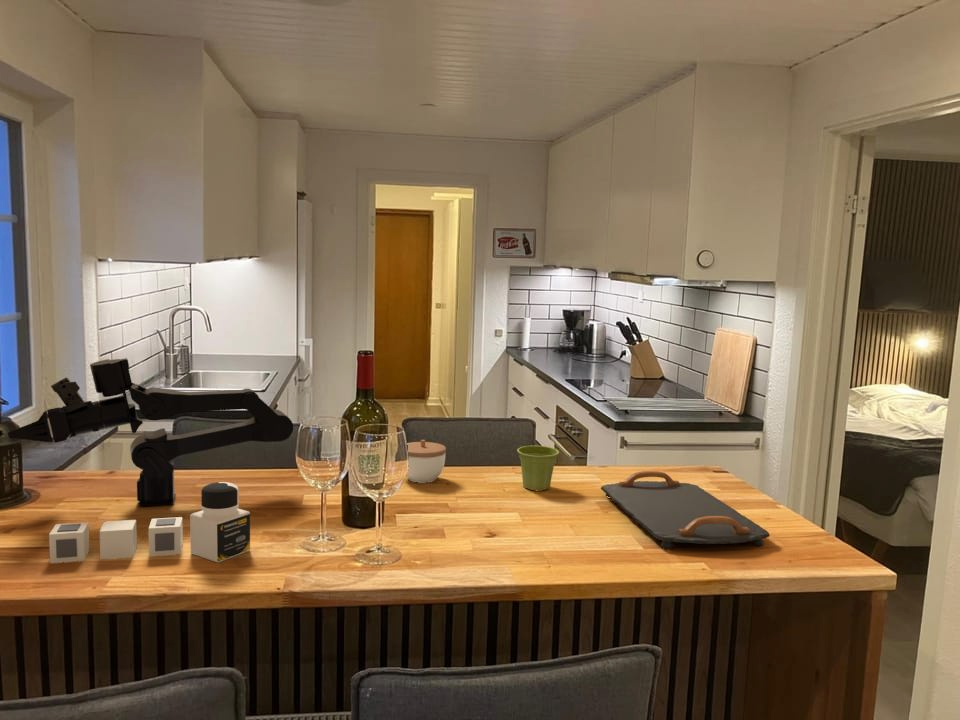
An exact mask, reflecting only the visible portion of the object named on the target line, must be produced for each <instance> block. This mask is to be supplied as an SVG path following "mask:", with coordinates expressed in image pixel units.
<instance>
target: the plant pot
mask: <svg viewBox="0 0 960 720" xmlns="http://www.w3.org/2000/svg"><path fill="white" fill-rule="evenodd" d="M516 451H517V453H518V457H519V459H520V466H521V467H520V468H521V475H522V476H521V479H522V487H523V488H524V489H528V490H529V489H530V491H532V490H543V491H544V490H549V489H550V488H551V482H552V477H553V473H554V472H553V471H554V468H555V463H556V460H557V456H559V454H560V451H559V450H558V449H556V448H554V447H550V446H545V445H525V446H520V447H519V448H517V450H516Z"/></svg>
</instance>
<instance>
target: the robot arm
mask: <svg viewBox="0 0 960 720" xmlns="http://www.w3.org/2000/svg"><path fill="white" fill-rule="evenodd" d="M89 366H90V371H91V374H92V375H91V376H92V380H93V384H94V388H95V392H96V393H98V394H102V396H103V398H105V399H100V400H95V401H92V400H88V401H85V400H84V399H83V397H82V396H81V394H80V393H79V391H80V389H81V387H80V386H79V385H78V383H77V382H76V381H71V380H70V379H69V377H64V378H62V379H60V380H58V381H57V382H54V384H52V385H50V388H51V389H52V390H53V392H55V393H56V394H57V396H58V397H59V398H60V400H61V401H62V402H63V404H64V405H63V406H62V407H54V408H50V409H46V410H44V411H43V412H42V414H41V415H40V417H39V418H38V420H35V421H33V422H31V423H28V424H27V425H24V426H21V427H19V428H16V429H13V430H11V431H9V432H7V436H8V439H15V440H21V441H22V440H24V441H32V442H44V443H52V444H53V443H56V444H57V443H61V442H63V441H68V439H70V438H74V437H76V436H81V435H85V434H89V433H96V432H99V431H102V430H107V429H111V428H112V429H113V428H115V427H120V426H125V425H130V429H131V433H132V434H135V433H136V432H137V431H138V429H139V428H140V426H142V425H143V424H144V422H143V419H141V418H140V417H138V414H137V410H136V409H137V408H136V405H135V404H137V405H138V409H139V412H140V414H141V416H143V417H144V418H145V419H147V420H149V421H160V420H164V419H168V418H173V417H177V416H180V415H182V414H187V413H197V412H213V411H214V412H217V411H232V410H233V411H236V410H237V411H238V410H246V411H247V412H248V413H249V414H251V415H252V416H253V417H251V418H249V419H247V420H246V421H242V422H236V423H232V424H225V425H223V426H222V425H221V426H216V427H212V428H206V429H201V430H198V431H191V432H187V433H181V434H167V431H166V429H165V428H164V427H163V428H159V429H157V430H154V431H145V430H144V431H143V434H142V435H139V436H136V437H135V438H134V439H133V440H132V441H131V442H130V443H131V444H130V448H129V451H130V452H129V453H130V458H131V461H132V464H133V465H134V466H135V467H136V468H139V469H140V470H141V471H140V474H139V478H138V479H137V481H136V501H137V502H138V506H139V507H155V506H171V505H174V504H175V500H176V496H177V494H176V492H175V466H174V463H173V460H175V459H177V458H179V457H182V456H185V455H189V454H190V455H191V454H194V453H200V452H205V451H209V450H214V449H219V448H224V447H228V446H233V445H238V444H242V443H248V442H257V443H258V442H259V443H260V442H261V443H278V442H279V443H280V442H284V441H286V440H288V439H289V438H290V437H291V436H292V434H293V431H294V424H293V420H291V418H290V417H289V416H288V415H286V413H284V412H283V411H281V410H280V409H272V408H271V407H270V406H269V405H268V404H267V403H266V402H265V401H264V400H263V399H261V398H260V396H259V395H258V394H257V393H256V391H254V390H253V389H251V388H244V389H233V390H232V389H228V390H207V391H203V390H202V391H180V390H176V389H170V388H162V387H154V386H153V387H152V386H151V387H148V388H146V387H143V386H141V385H139V384H138V383H135V382H132V378H131V373H130V364H129V360H128V358H127V357H125V358H115V359H110V358H107V359H101V360H99V361H98V360H97V361H95V362H91V363H90V364H89ZM126 391H129V394H130V398H131V400H132V401H133V402H135V404H134V403H129V400H128V397H127V392H126ZM122 394H123V395H122ZM119 395H120V396H119ZM109 397H110V398H109Z"/></svg>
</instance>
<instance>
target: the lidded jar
mask: <svg viewBox="0 0 960 720" xmlns="http://www.w3.org/2000/svg"><path fill="white" fill-rule="evenodd" d="M407 445H408V453H409V471H408V475H407V476H406V477H407V478H408V481H409V480H410V481H409V482H411V481H412V482H411V483H414V482H418V483H417V484H427V483H426V482H431V483H433V482H432V481H434V480H435V481H436V479H437V478H438V477H439V476H440V475H441V474H442V472H443V470H444V467H445V463H446V452H447V448H446V446H445V445H444V444H441V443H438V442H432V441H431V442H430V441H426V439H420V441H413V442H407ZM435 481H434V482H435Z"/></svg>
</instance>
